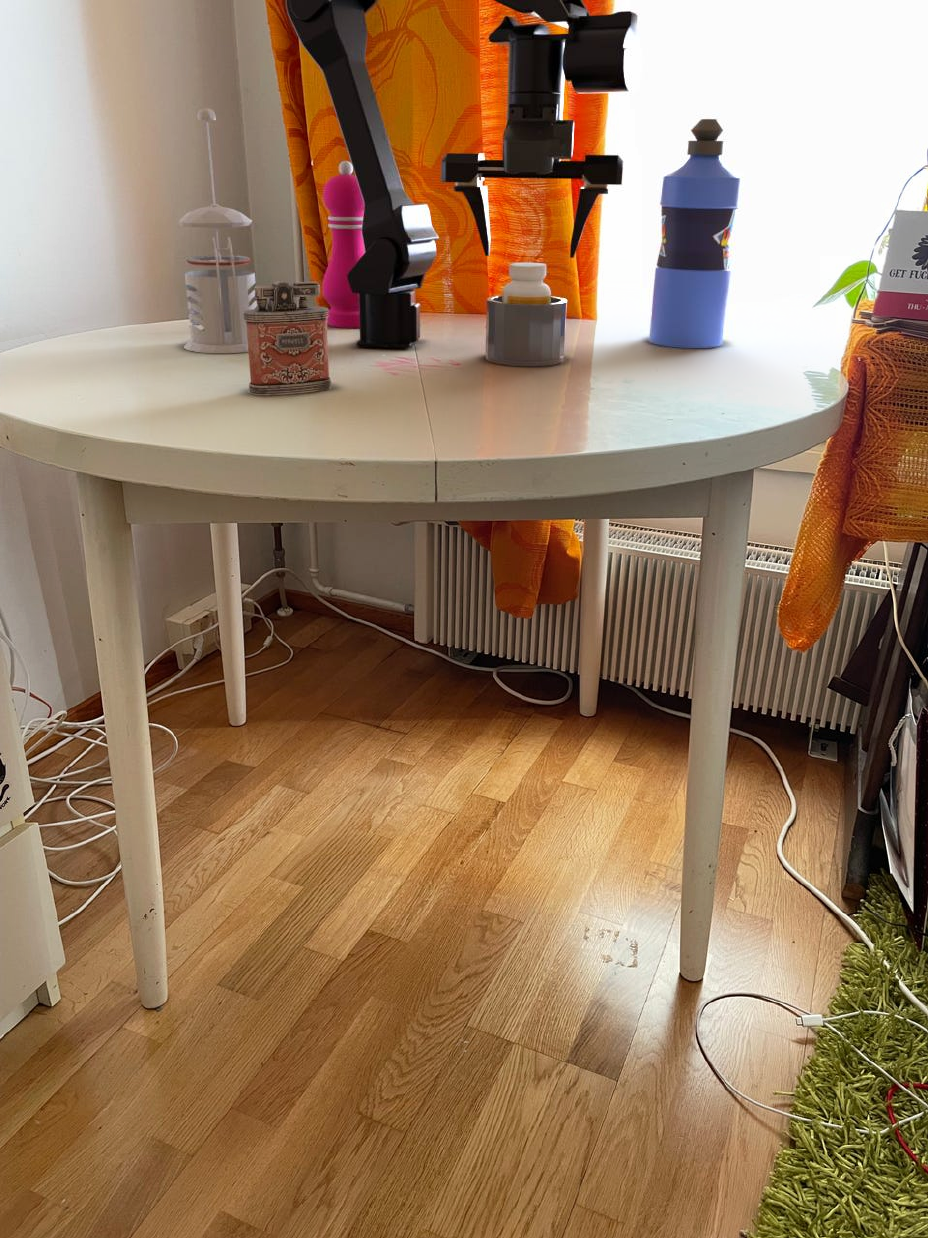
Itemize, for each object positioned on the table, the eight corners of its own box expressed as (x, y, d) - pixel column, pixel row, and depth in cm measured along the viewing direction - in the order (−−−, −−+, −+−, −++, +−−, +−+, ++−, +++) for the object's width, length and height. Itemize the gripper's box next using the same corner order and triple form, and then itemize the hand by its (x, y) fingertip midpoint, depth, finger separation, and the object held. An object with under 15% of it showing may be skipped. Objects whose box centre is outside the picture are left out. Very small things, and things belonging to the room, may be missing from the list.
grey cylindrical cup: (481, 364, 109) (482, 303, 106) (490, 350, 116) (491, 293, 114) (561, 367, 108) (565, 305, 105) (565, 353, 115) (568, 295, 113)
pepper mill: (368, 329, 129) (364, 160, 120) (316, 327, 130) (308, 159, 122) (384, 321, 135) (381, 161, 127) (333, 319, 137) (327, 160, 128)
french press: (262, 337, 122) (246, 110, 112) (276, 353, 112) (260, 106, 102) (180, 340, 120) (156, 108, 109) (187, 357, 110) (161, 103, 99)
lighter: (255, 397, 92) (247, 285, 88) (245, 389, 95) (236, 280, 91) (336, 389, 96) (332, 281, 92) (324, 382, 99) (319, 277, 94)
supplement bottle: (492, 351, 113) (494, 262, 109) (534, 348, 115) (537, 260, 111) (513, 359, 108) (517, 267, 104) (556, 356, 110) (561, 265, 106)
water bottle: (640, 344, 122) (660, 117, 111) (656, 333, 130) (676, 120, 119) (716, 350, 119) (744, 117, 108) (728, 339, 127) (755, 120, 116)
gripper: (432, 88, 95) (432, 261, 101) (629, 89, 92) (616, 265, 99) (449, 95, 105) (448, 252, 111) (627, 96, 102) (615, 256, 109)
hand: (529, 256), depth 107 cm, fingers open, 9 cm apart
